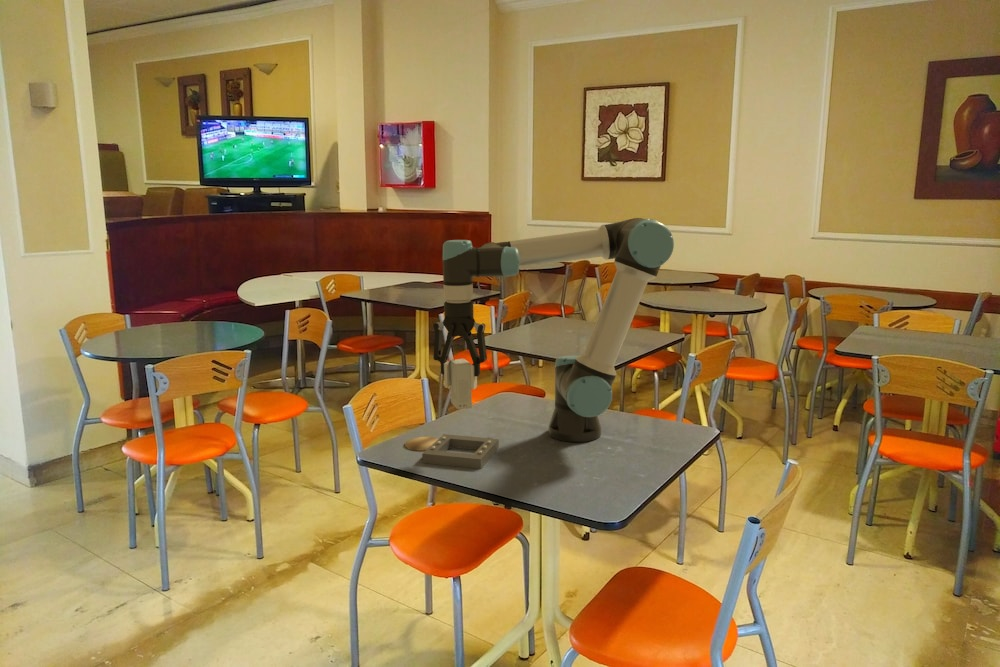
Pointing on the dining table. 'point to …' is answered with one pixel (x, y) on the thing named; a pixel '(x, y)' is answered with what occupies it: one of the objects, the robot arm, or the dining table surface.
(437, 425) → the dining table surface
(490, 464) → the dining table surface
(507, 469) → the dining table surface
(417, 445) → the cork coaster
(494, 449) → the studded square frame
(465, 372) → the skincare box
